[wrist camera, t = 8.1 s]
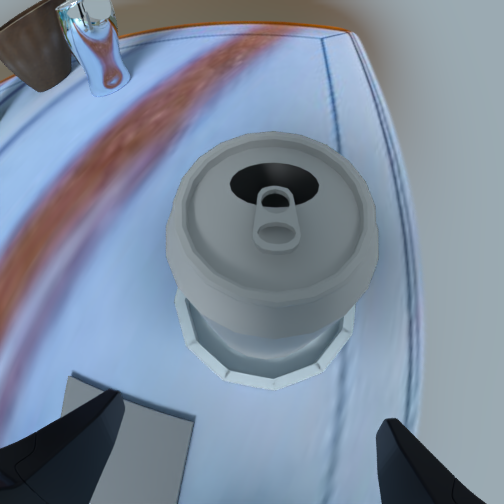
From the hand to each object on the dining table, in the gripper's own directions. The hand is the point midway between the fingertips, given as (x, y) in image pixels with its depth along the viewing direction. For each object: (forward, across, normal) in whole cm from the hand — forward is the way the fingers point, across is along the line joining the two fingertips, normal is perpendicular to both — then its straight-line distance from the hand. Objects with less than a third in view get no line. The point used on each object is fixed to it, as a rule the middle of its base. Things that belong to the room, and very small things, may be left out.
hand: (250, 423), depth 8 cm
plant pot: (+35, +40, -22) cm, 58 cm away
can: (+11, 0, +2) cm, 11 cm away
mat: (+3, +9, +12) cm, 15 cm away
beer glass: (+31, +24, -18) cm, 43 cm away
